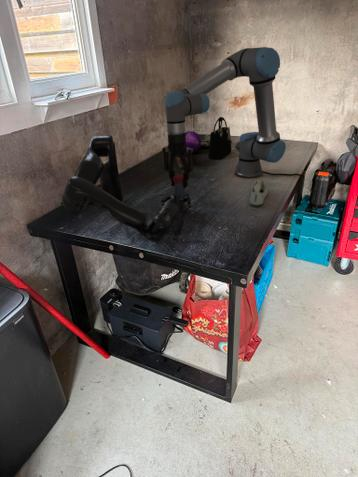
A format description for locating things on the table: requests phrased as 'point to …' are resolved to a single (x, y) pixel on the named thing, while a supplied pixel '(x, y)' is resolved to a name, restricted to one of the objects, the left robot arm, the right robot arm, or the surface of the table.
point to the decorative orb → (193, 140)
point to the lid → (178, 178)
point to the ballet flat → (258, 193)
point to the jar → (179, 192)
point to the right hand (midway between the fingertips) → (179, 186)
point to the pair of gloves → (206, 141)
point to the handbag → (220, 141)
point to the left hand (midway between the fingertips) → (181, 195)
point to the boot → (180, 159)
